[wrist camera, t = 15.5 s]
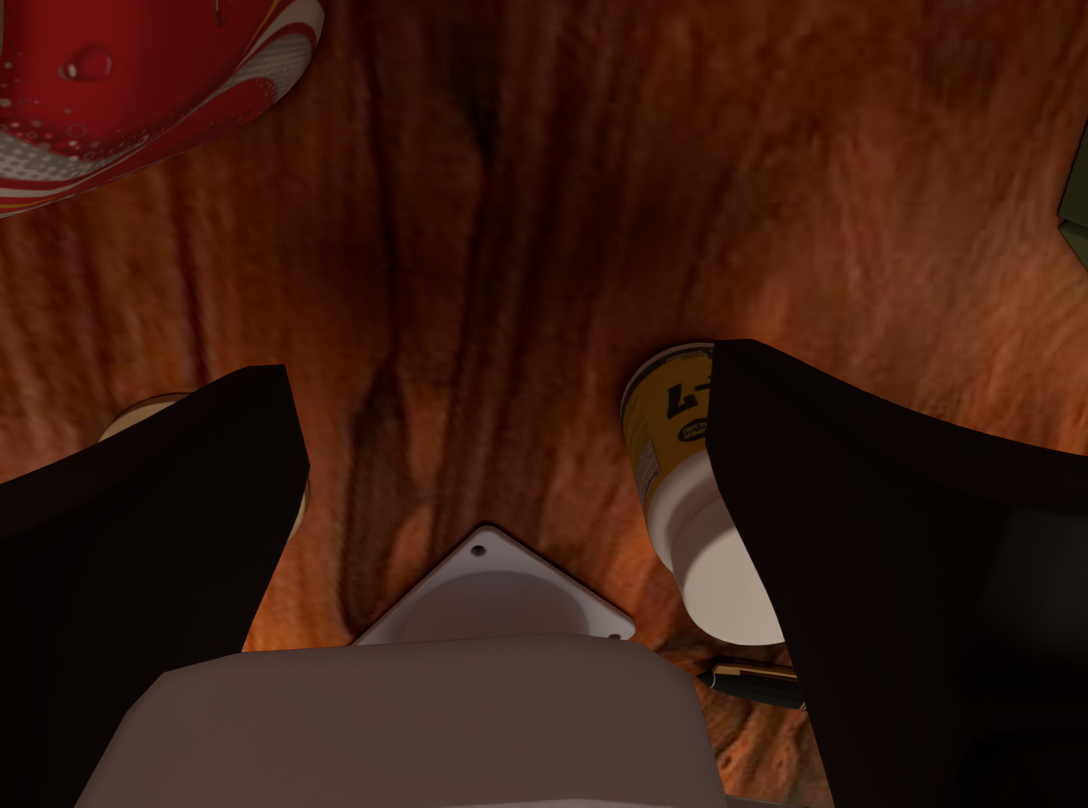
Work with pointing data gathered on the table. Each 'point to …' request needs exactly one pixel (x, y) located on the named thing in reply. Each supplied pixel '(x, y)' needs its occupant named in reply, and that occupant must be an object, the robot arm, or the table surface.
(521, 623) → the robot arm
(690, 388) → the supplement bottle
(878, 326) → the table surface
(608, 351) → the table surface
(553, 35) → the table surface
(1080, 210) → the ring
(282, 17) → the soda can
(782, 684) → the fountain pen
